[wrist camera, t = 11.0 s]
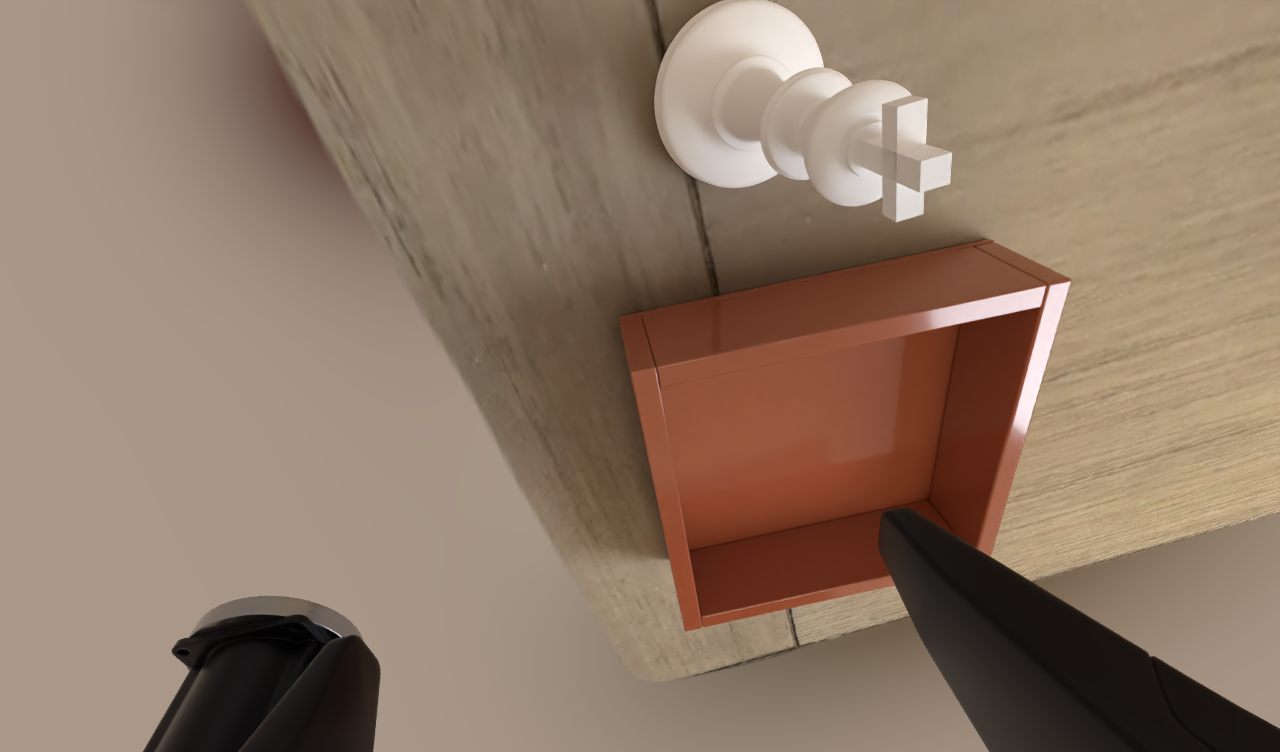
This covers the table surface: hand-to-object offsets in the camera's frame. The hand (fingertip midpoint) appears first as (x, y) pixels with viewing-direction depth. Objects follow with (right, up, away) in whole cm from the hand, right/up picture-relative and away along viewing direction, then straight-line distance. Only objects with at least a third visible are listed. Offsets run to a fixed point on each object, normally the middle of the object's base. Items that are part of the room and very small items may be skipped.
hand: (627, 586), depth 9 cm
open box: (+7, +1, +14) cm, 16 cm away
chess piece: (+3, +12, +7) cm, 14 cm away
